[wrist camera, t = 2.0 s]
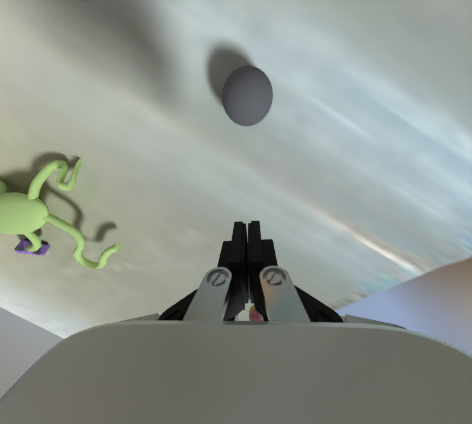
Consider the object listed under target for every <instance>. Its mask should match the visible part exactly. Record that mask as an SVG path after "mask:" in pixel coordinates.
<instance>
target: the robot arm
mask: <svg viewBox="0 0 472 424" xmlns="http://www.w3.org/2000/svg"><path fill="white" fill-rule="evenodd" d="M249 284H250V295H251V303H254V304H255V310H256V311H257V312H258V313H259V314H260V315H262V321H237V319H238V315H237V314H238V313H240V312H241V311H242V310H245V303H248V290H249ZM0 424H472V355H470V354H468V353H467V352H465V351H463V350H461V349H460V348H458V347H455V346H453V345H451V344H449V343H447V342H444V341H442V340H439V339H437V338H434V337H431V336H428V335H425V334H422V333H418V332H415V331H411V330H407V329H406V328H404V327H401V326H398V325H395V324H390V323H385V322H380V321H376V320H371V319H366V318H361V317H356V316H351V315H347V314H346V315H345V317H344V316H339V315H338V314H337V313H336V312H335V311H334V310H332V309H331V308H329V307H328V306H326V305H325V304H323V303H321V302H320V301H318V300H317V299H315V298H314V297H312V296H311V295H309V294H307V293H306V292H304V291H303V290H301V289H300V288H298V287H296V286H295V285H293V282H292V280H291V278H290V276H289V274H288V273H287V271H286V270H284V269H283V268H281V267H278V265H277V260H276V255H275V250H274V244H273V240H272V239H266V240H261V233H260V222H259V221H251V223H248V242H247V230H246V223H245V224H243V222H234V228H233V234H232V241H224V242H223V245H222V249H221V253H220V258H219V262H218V266H217V267H216V268H213V269H211V270H209V271H208V272H207V273H206V274H205V276H204V278H203V280H202V282H201V284H200V286H199V288H198V289H196V290H195V291H193V292H192V293H190V294H189V295H188V296H186V297H185V298H183V299H182V300H180V301H179V302H177V303H176V304H174V305H173V306H171V307H170V308H168V309H167V310H166V311H165V312H163V313H162V315H159V314H158V313H156V314H152V315H147V316H142V317H138V318H133V319H129V320H124V321H120V322H115V323H108V324H103V325H99V326H95V327H92V328H89V329H86V330H83V331H80V332H78V333H75V334H73V335H71V336H69V337H67V338H65V339H63V340H62V341H60V342H59V343H57V344H56V345H55V346H53V347H52V348H51V349H49V350H48V351H47V352H46V353H45V354H44V355H43V356H42V357H41V358H40V359H39V360H37V361H36V362H35V363H34V364H33V365H32V366H31V367H30V368H29V370H27V371H26V372H25V373H24V374H23V375H22V376H21V377H20V379H19V380H18V381H17V382H16V383H15V384H14V385H13V386H12V387H11V388H10V389H9V390H8V391H7V392H6V393H5V395H3V397H2V398H1V399H0Z"/></svg>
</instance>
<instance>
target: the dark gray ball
mask: <svg viewBox="0 0 472 424" xmlns="http://www.w3.org/2000/svg"><path fill="white" fill-rule="evenodd" d="M272 98H273V92H272V86H271V83H270V81H269V79H268V77H267V76H266V74H265V73H264V72H263V71H261V70H260V69H258V68H256V67H253V66H244V67H241V68H238V69H237V70H235V71H234V72H233V73H232V74H231V75H230V76H229V77H228V79H227V81H226V83H225V85H224V88H223V94H222V100H223V106H224V109H225V111H226V113H227V115H228V116H229V118H230V119H231V120H232V121H234V122H235V123H237V124H239V125H242V126H251V125H254V124H257V123H258V122H260V121H261V120H262V119H263V118H264V117H265V116H266V115H267V113H268V112H269V110H270V107H271V104H272Z"/></svg>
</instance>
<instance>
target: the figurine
mask: <svg viewBox="0 0 472 424" xmlns="http://www.w3.org/2000/svg"><path fill="white" fill-rule="evenodd" d="M80 167H81V158H80V159H79V160H78V162H77V163H76V165H75V168H74V171H73V173H72V176H71V178H70V180H69V181H68V182H67V183H64V179H65V176H66V174H67V172H68V170H69V167H68V164H67V162H66V161H62V160H55V161H52V162H50V163H48V164H47V165H45V166H44V167H43V168H42V169H41V170H40V171H39V172H38V174H37V175H36V176H35V177H34V178H33V180H32V182H31V184H30V187H29V190H28V195H27V194H22V193H17V192H15V193H7V187H6V184H5V183H4V182H3V181H1V180H0V232H1V233H5V234H24V235H25V236H26V237H27V238H28V239H26V238H25V239H21V242H20V243H19V244H18V245H17V247H16V248H15V249H14V250H15V251H16V252H17V253H24V254H32V255H45V253H46V252H47V250H48V249H49V247H50V245H49V244H48V243H46V242H41V240H40V238H39V237H38V236H37V235H36V234H35V233H34V232H33V231H35V230H37V229H39V228H40V227H41V226H42V225H43V224H44V223H45V222H46V221H48V222H50V223H52V224H54V225H56V226H57V227H59V228H61V229H63V230H65V231H66V232H68V233H69V234H71V235H72V236H73V237H74V238H75V240H76V242H77V246H76V248H75V250H74V252H73V256H74V258H75V260H76V261H77V262H78V263H79V264H81V265H83V266H85V267H88V268H93V269H99V268H102V267H104V266H105V264H106V263H107V259H108V257H109V256H110V255H111V254H112V253H113V252H115V251H117V250H119V249H120V248H121V245H120V244H119V243H117V244H115V245H112V246H110V247H109V248H107V249H106V250H105V251H104V252H103V253H102V254H101V256H100V259H99V262H92V261H90V260H87V259H86V258H85V257H83V255H82V250H83V248H84V246H85V242H86V241H85V239H84V236H83V235H82V233H81V232H80V231H79V230H78V229H77V228H76V227H74V226H72V225H71V224H69V223H67V222H65V221H64V220H62V219H60V218H58V217H56V216H54V215H52V214H49V210H48V207H47V206H46V204H45V203H44V202H43V201H41V200H40V199H38V197H39V192H40V189H41V186H42V184H43V183H44V182H45V180H46V179H47V178H48V176H49V175H50V174H51V173H52V172H53V171H54V170H56V169H58V168H61V170H60V172H59V174H58V177H57V184H58V187H59V188H60V189H61V190H67V191H71V190H72V189H73V187H74V186H75V183H76V179H77V174H78V170H79V168H80Z"/></svg>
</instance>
